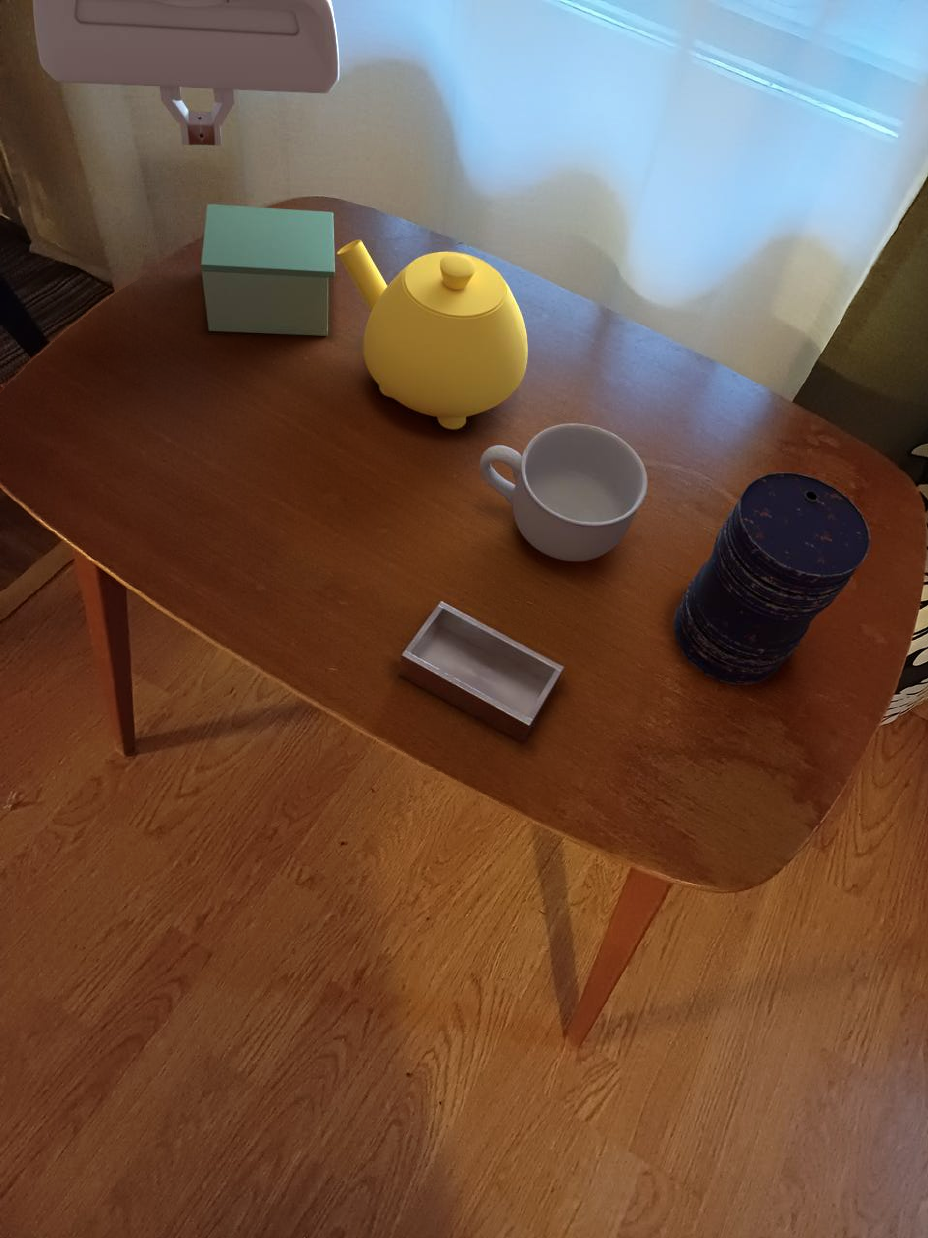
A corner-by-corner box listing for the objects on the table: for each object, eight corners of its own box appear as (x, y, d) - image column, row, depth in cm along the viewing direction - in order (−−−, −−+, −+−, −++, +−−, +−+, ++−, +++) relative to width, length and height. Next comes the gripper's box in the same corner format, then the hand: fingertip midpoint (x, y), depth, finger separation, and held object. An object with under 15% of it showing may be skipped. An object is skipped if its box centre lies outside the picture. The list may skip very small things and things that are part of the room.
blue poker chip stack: (772, 704, 75) (861, 598, 63) (658, 657, 76) (723, 543, 64) (794, 615, 81) (880, 501, 68) (688, 572, 82) (753, 452, 70)
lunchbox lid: (333, 218, 93) (333, 211, 92) (334, 278, 88) (334, 271, 87) (207, 209, 91) (206, 203, 90) (201, 270, 86) (200, 264, 85)
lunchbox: (326, 276, 98) (326, 217, 93) (327, 336, 93) (328, 277, 88) (214, 270, 97) (207, 210, 91) (208, 331, 91) (201, 271, 86)
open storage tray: (398, 674, 72) (401, 654, 70) (436, 621, 75) (440, 600, 73) (522, 744, 70) (529, 725, 68) (556, 686, 73) (564, 667, 71)
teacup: (638, 515, 85) (665, 453, 78) (599, 599, 79) (624, 540, 72) (501, 456, 87) (516, 391, 80) (452, 533, 81) (464, 470, 74)
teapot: (292, 371, 90) (288, 245, 78) (383, 294, 98) (391, 170, 87) (466, 466, 86) (489, 348, 74) (546, 377, 94) (577, 258, 83)
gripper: (-1, -65, 55) (53, 160, 66) (345, -40, 59) (340, 168, 70) (8, -108, 58) (57, 113, 69) (334, -81, 62) (331, 123, 74)
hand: (202, 141), depth 70 cm, fingers closed
